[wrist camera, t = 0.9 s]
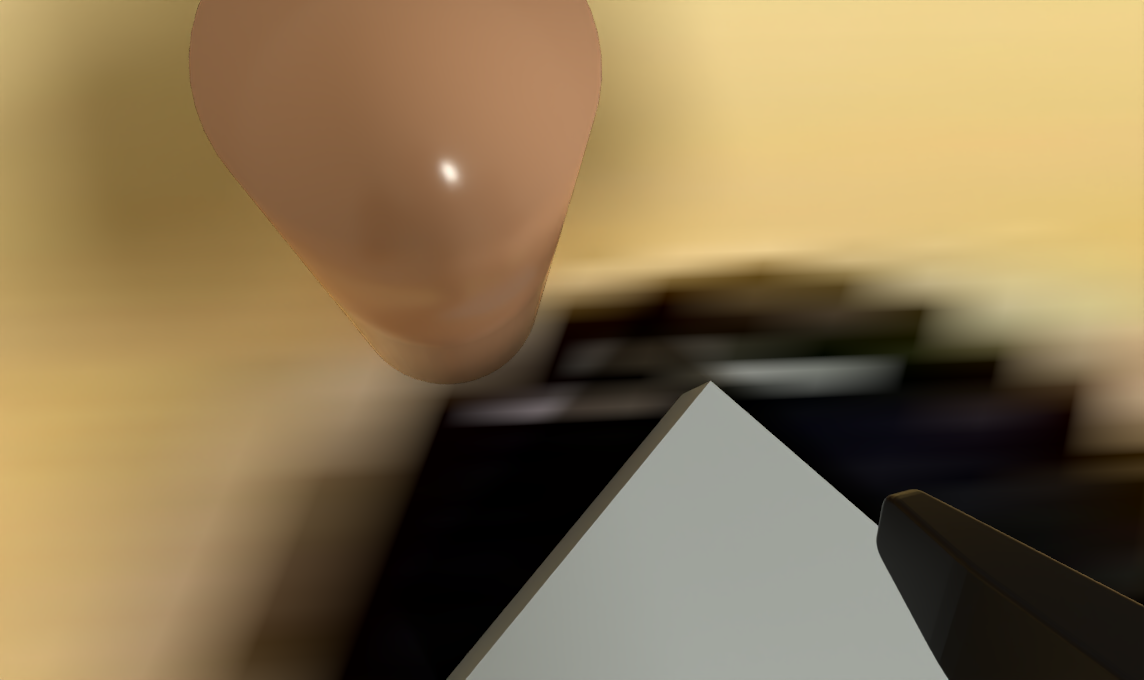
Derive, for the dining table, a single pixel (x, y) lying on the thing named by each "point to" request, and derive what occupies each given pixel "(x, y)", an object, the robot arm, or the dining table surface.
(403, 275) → the cargo canister
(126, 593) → the dining table surface
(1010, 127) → the dining table surface
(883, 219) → the dining table surface
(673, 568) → the block
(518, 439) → the dining table surface
